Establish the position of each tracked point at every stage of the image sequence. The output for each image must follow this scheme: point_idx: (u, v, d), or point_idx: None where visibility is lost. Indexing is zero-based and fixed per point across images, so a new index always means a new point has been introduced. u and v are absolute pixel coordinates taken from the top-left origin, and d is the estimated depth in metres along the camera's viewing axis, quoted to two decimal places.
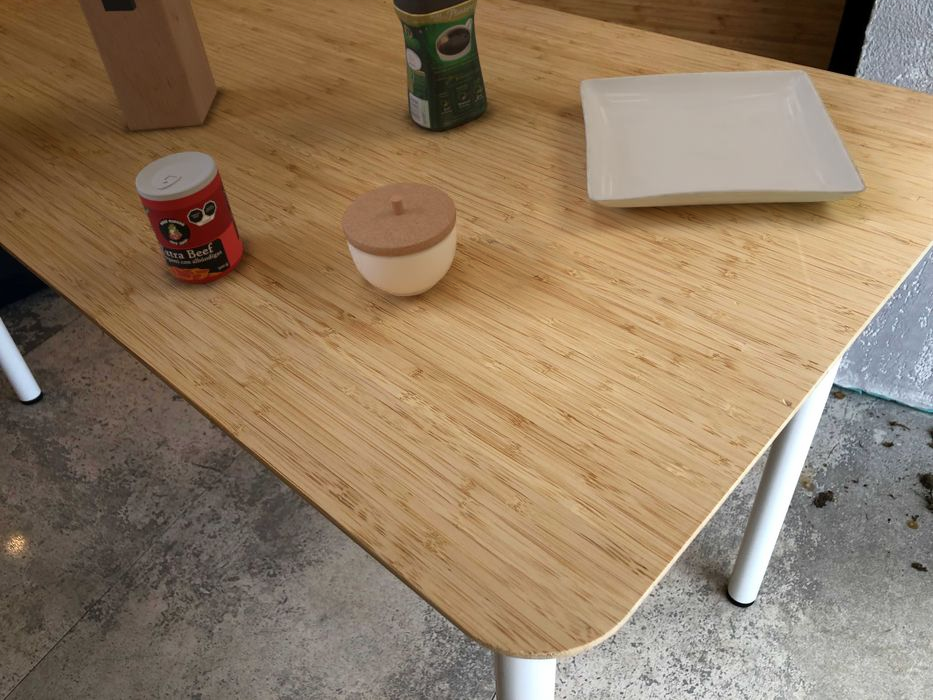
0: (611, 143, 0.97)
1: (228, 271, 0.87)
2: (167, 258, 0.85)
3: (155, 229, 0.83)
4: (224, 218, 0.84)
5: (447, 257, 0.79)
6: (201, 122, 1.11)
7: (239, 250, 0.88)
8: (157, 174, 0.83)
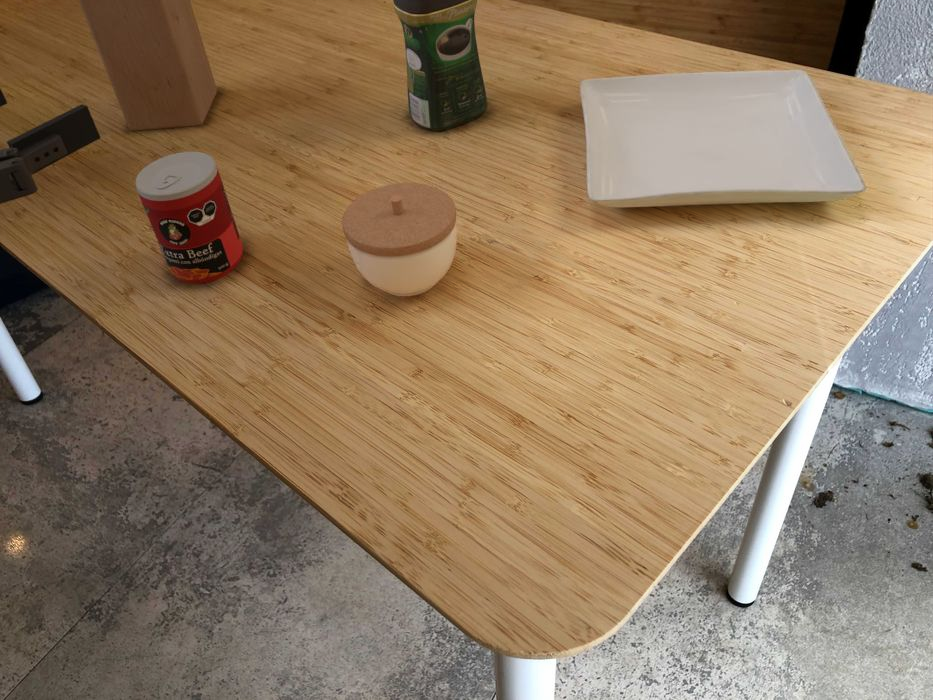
0: (611, 143, 0.97)
1: (228, 271, 0.87)
2: (167, 258, 0.85)
3: (155, 229, 0.83)
4: (224, 218, 0.84)
5: (447, 257, 0.79)
6: (201, 122, 1.11)
7: (239, 250, 0.88)
8: (157, 174, 0.83)
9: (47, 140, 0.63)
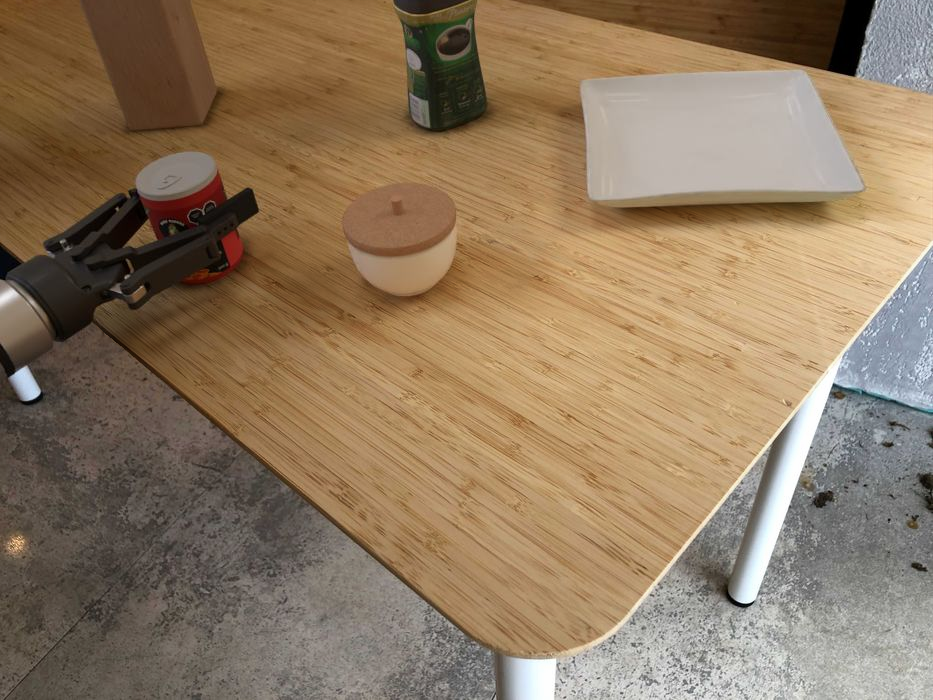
0: (611, 143, 0.97)
1: (228, 271, 0.87)
2: None
3: (155, 229, 0.83)
4: None
5: (447, 257, 0.79)
6: (201, 122, 1.11)
7: (238, 250, 0.88)
8: (157, 174, 0.83)
9: (225, 217, 0.82)
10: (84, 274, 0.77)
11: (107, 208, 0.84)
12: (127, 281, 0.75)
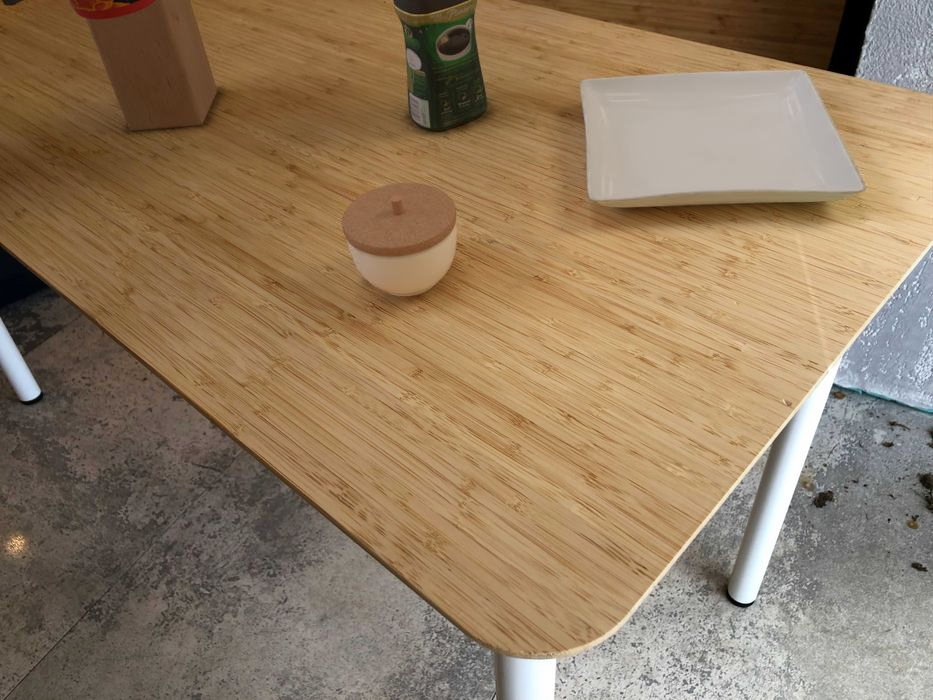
0: (611, 143, 0.97)
1: (139, 5, 0.74)
2: None
3: None
4: None
5: (447, 257, 0.79)
6: (201, 122, 1.11)
7: None
8: None
9: None
10: None
11: None
12: None
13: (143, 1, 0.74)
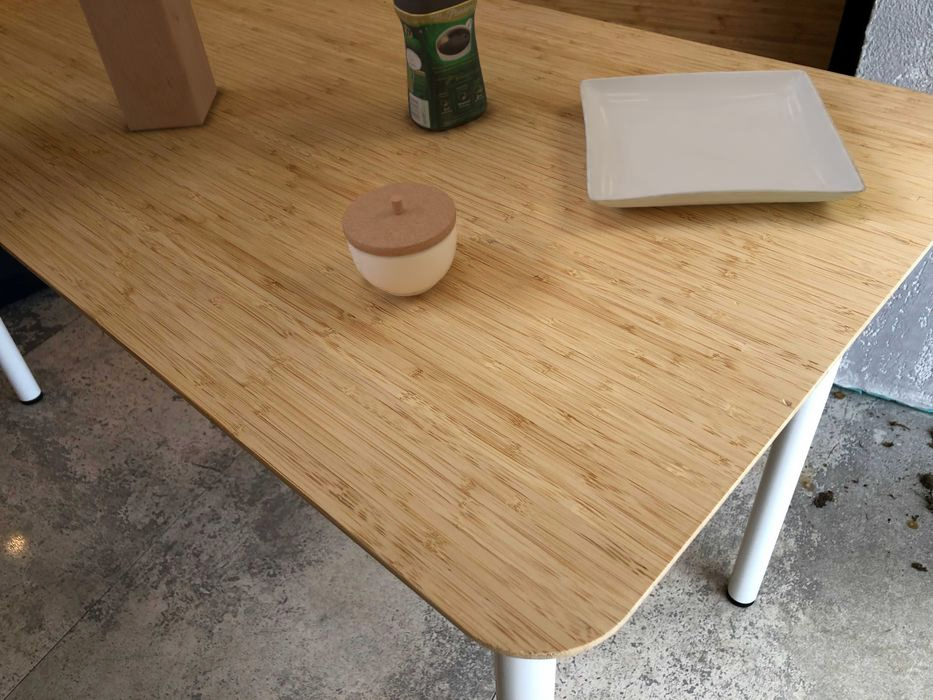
0: (611, 143, 0.97)
1: None
2: None
3: None
4: None
5: (447, 257, 0.79)
6: (201, 122, 1.11)
7: None
8: None
9: None
10: None
11: None
12: None
13: None
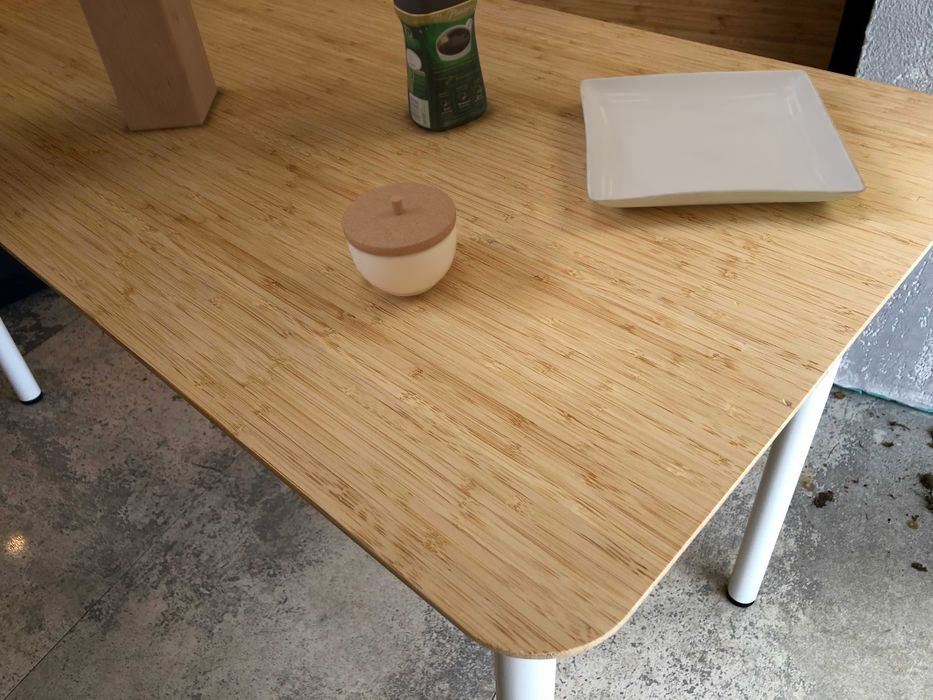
0: (611, 143, 0.97)
1: None
2: None
3: None
4: None
5: (447, 257, 0.79)
6: (201, 122, 1.11)
7: None
8: None
9: None
10: None
11: None
12: None
13: None
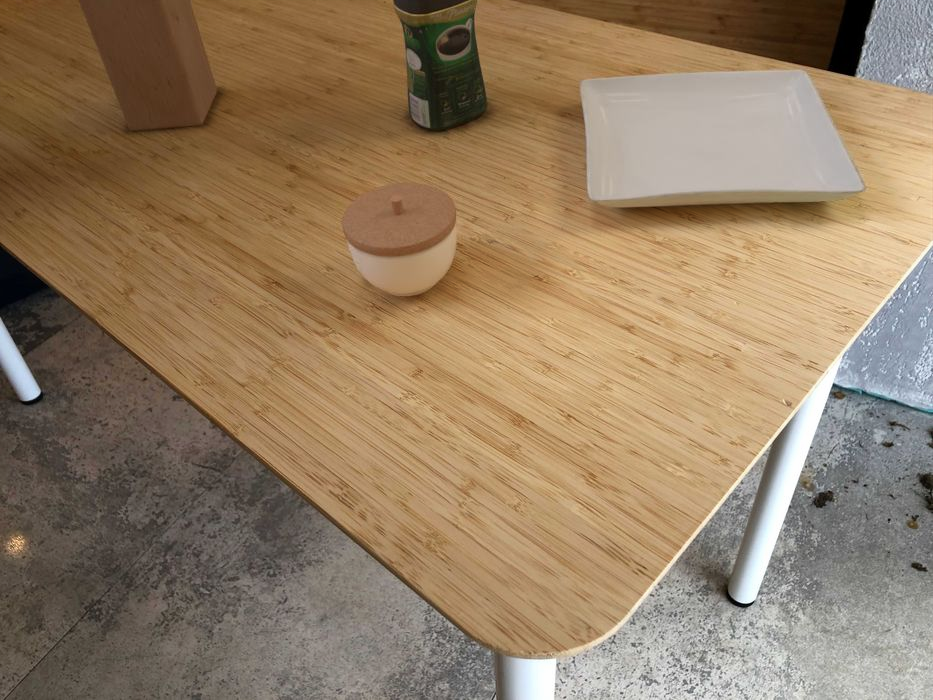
0: (611, 143, 0.97)
1: None
2: None
3: None
4: None
5: (447, 257, 0.79)
6: (201, 122, 1.11)
7: None
8: None
9: None
10: None
11: None
12: None
13: None
